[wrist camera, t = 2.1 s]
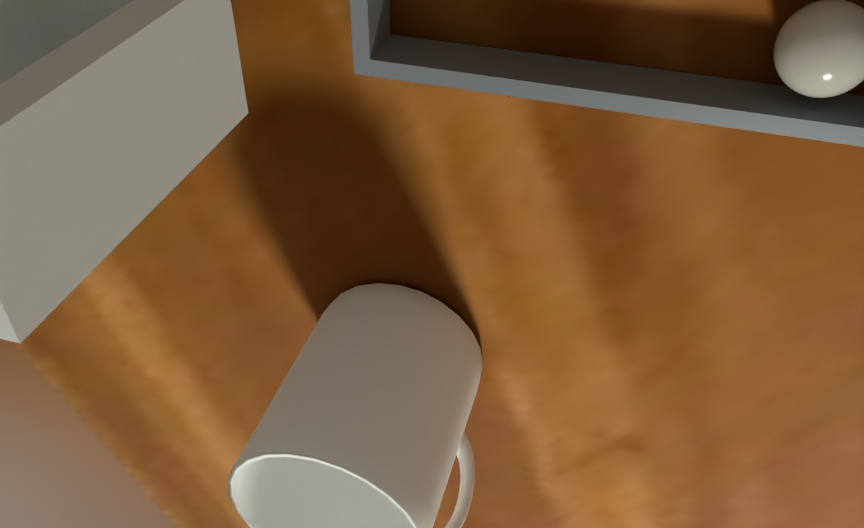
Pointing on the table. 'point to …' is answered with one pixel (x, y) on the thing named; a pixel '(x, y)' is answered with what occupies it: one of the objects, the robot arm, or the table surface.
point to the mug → (366, 419)
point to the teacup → (44, 28)
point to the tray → (599, 83)
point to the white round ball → (822, 49)
